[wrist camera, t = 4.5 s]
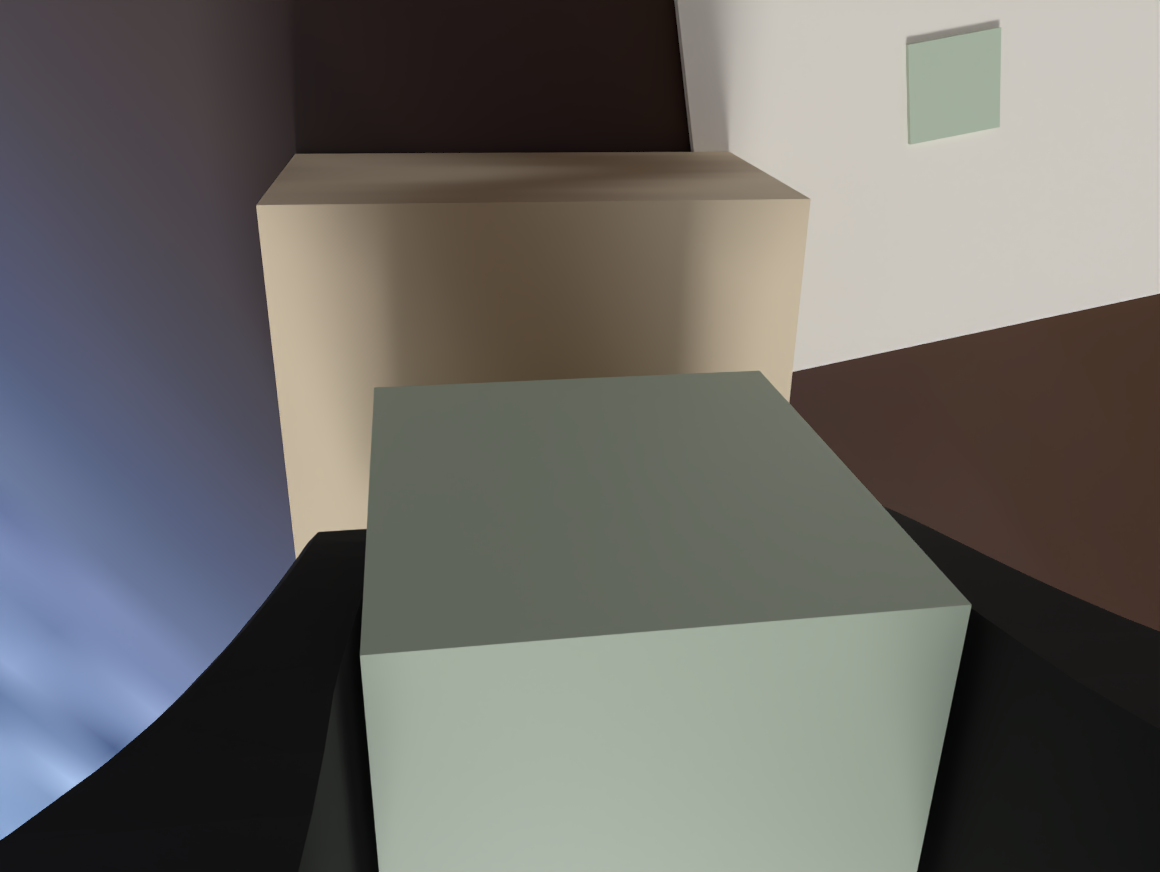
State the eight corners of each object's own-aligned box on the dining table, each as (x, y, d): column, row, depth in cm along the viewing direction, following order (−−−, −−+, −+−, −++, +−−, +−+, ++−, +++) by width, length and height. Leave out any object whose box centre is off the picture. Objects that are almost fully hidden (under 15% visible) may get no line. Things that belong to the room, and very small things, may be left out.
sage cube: (759, 370, 12) (970, 605, 8) (730, 679, 14) (888, 1012, 10) (373, 386, 11) (358, 655, 7) (397, 709, 13) (398, 1084, 9)
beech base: (729, 151, 17) (810, 198, 13) (702, 522, 20) (763, 645, 16) (295, 154, 16) (256, 205, 12) (332, 542, 19) (309, 676, 15)
